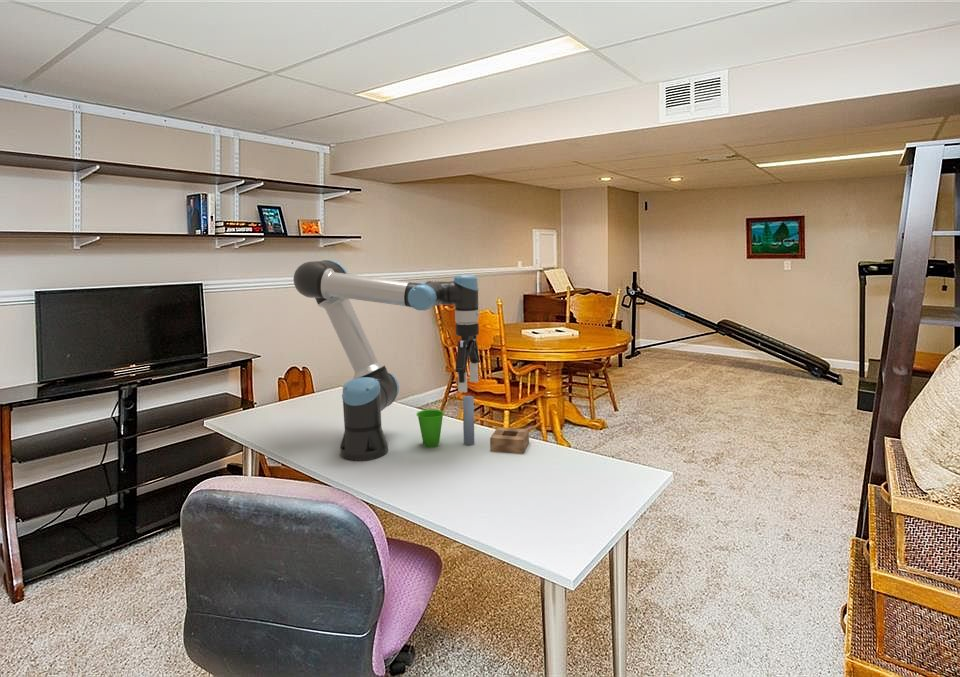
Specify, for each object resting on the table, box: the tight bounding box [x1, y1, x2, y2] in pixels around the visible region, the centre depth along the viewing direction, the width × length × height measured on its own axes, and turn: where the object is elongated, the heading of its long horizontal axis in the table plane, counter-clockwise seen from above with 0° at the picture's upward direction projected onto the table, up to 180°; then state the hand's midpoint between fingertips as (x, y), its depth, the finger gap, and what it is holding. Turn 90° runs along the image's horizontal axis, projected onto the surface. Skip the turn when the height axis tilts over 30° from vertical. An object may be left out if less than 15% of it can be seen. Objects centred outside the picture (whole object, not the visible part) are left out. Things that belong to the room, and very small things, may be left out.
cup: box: [416, 408, 445, 448], centre depth 184 cm, size 9×9×11 cm
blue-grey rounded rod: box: [462, 395, 475, 446], centre depth 185 cm, size 4×4×16 cm
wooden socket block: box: [489, 426, 530, 455], centre depth 182 cm, size 11×11×4 cm
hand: (468, 386), depth 183 cm, fingers open, 13 cm apart
